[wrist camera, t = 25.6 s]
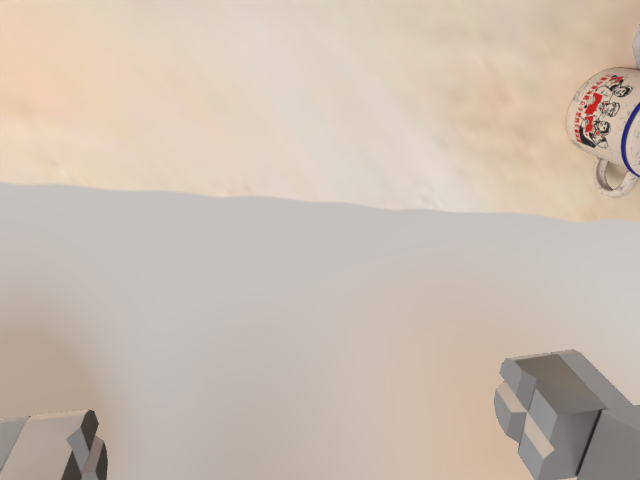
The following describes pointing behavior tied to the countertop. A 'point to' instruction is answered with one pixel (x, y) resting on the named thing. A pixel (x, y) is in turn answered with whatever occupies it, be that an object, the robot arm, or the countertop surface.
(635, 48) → the spray bottle
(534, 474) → the robot arm
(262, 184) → the countertop surface
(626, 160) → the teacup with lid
